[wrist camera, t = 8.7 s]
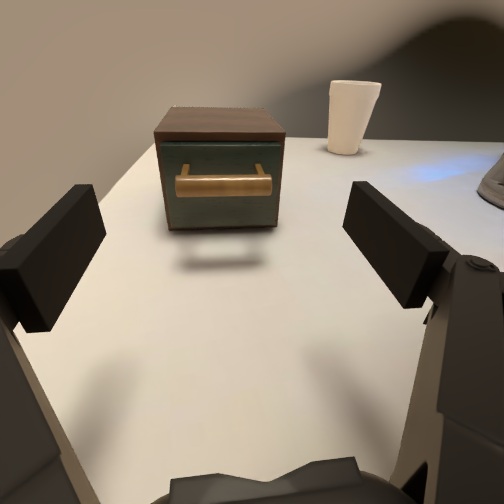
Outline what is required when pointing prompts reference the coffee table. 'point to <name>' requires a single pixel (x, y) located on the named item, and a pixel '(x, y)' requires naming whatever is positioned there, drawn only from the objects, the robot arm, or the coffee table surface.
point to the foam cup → (349, 114)
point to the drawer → (221, 182)
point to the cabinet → (217, 137)
